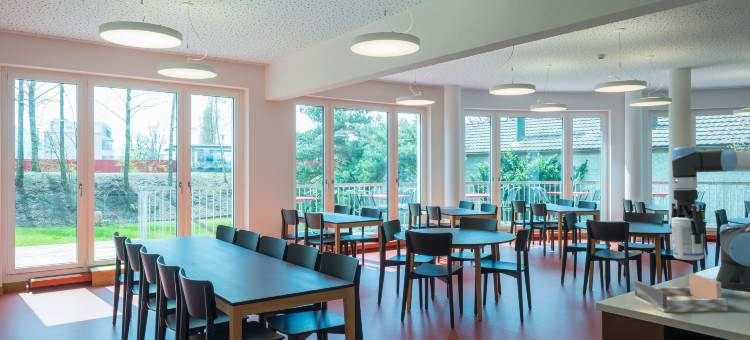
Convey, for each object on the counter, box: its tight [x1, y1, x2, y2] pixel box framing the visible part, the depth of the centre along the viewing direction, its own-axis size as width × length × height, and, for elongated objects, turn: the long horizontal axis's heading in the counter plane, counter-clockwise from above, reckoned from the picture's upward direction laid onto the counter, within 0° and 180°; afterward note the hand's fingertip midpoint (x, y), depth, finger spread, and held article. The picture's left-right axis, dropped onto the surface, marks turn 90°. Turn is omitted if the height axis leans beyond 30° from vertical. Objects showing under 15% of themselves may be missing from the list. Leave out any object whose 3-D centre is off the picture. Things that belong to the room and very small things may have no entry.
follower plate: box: [688, 273, 723, 299], centre depth 170 cm, size 2×14×7 cm, turn 0°
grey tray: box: [634, 280, 728, 313], centre depth 170 cm, size 20×18×6 cm
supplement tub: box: [670, 216, 705, 261], centre depth 187 cm, size 10×10×15 cm
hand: (687, 250), depth 187 cm, fingers closed on supplement tub, 9 cm apart
